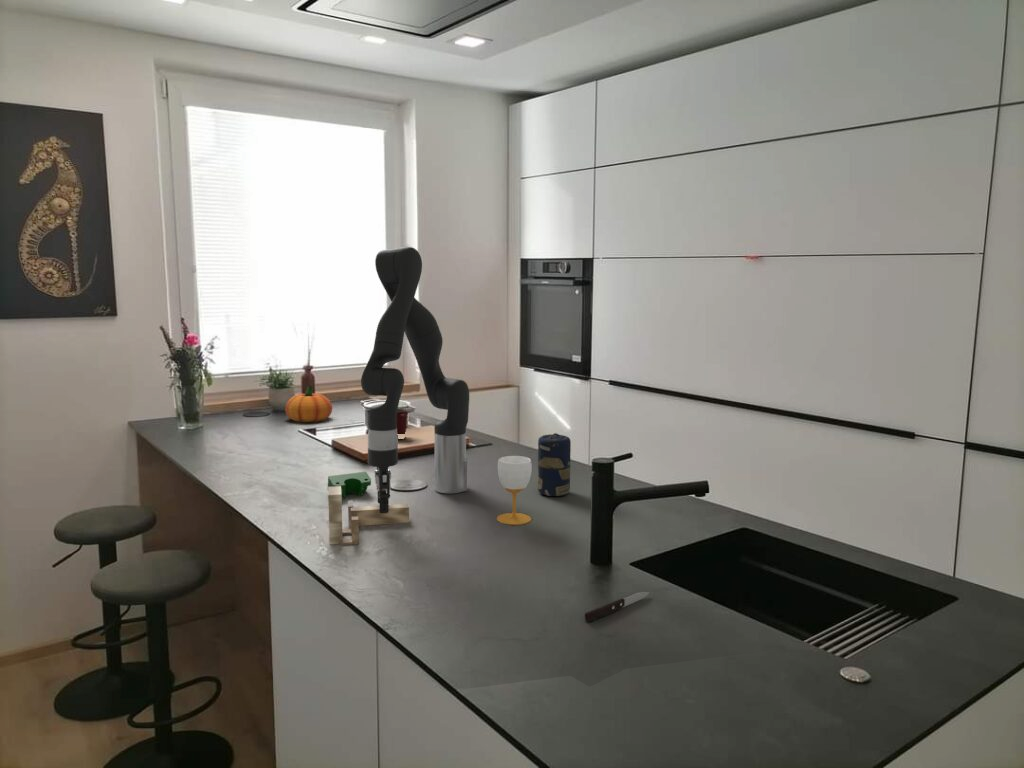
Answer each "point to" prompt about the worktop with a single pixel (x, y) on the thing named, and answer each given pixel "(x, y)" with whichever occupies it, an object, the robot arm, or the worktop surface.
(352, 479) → the clamp
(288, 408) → the pumpkin
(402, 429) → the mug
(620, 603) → the kitchen knife
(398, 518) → the light wooden bar
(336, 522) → the post block
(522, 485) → the cup
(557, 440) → the canister
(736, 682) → the worktop surface
